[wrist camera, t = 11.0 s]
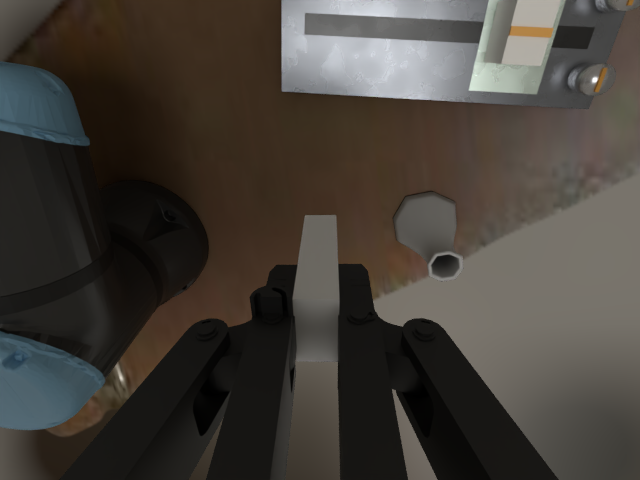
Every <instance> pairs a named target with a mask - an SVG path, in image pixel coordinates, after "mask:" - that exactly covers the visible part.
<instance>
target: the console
mask: <svg viewBox="0 0 640 480" xmlns="http://www.w3.org/2000/svg"><path fill="white" fill-rule="evenodd" d="M499 1H502V0H282V91H284V92H301V93H318V94H335V95H352V96H370V97H387V98H404V99H421V100H438V101H456V102H473V103H490V104H507V105H524V106H541V107H559V108H576V109H589V107H590V104H591V102H592V99H593V97H594V96H598V95H601V94H603V93H605V92H606V91H608V90H609V89H610V88H611V87H612V85H613V83H614V81H615V79H616V71H615V69H614V67H613V66H612V65H610V64H606V62H607V60H608V57H609V54H610V52H611V49H612V46H613V44H614V41H615V39H616V36H617V33H618V31H619V28H620V25H621V23H622V20H623V17H624V15H625V12H626V11H627V10H632V9H635V8H637V7H638V6H640V0H561V2H560V5H559V8H558V11H557V15H556V18H555V21H554V25H553V28H554V29H553V32H552V36H551V38H549V41H548V44H547V48H546V51H545V54H544V58H543V61H542V64H541V66H530V65H512V64H496V63H484V59H485V55H486V50H487V46H488V42H489V38H490V33H491V29H492V25H493V21H494V16H495V12H496V8H497V4H498V2H499Z"/></svg>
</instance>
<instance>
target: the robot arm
mask: <svg viewBox="0 0 640 480" xmlns="http://www.w3.org/2000/svg"><path fill="white" fill-rule="evenodd" d="M88 145H90V140H89V138H88V137H87V136H86V135H85V133H84V130H83V127H82V124H81V121H80V117H79V114H78V111H77V108H76V105H75V102H74V99H73V96H72V94H71V91H70V90H69V88H68V87H67V85H66V84H65V83H64V82H63V81H62V80H61V79H60V78H58V77H57V76H56V75H54V74H52V73H50V72H48V71H46V70H44V69H41V68H37V67H32V66H27V65H21V64H14V63H8V62H1V61H0V427H4V428H10V429H19V430H36V429H45V428H50V427H54V426H56V425H59V424H61V423H64V422H65V421H67V420H68V419H69V418H71V417H73V416H74V415H75V414H76V413H78V412H79V410H80V409H81V408H82V407H83V406H84V405H85V403H86V402H87V401H88V400H89V399H90V398H91V397H92V395H93V394H94V393H95V392H96V391H97V390H99V389H100V388H101V387H102V386H103V385H104V383H105V379H106V378H107V376H108V375H109V373H110V372H111V371H112V369H113V368H114V366H115V365H116V364H117V362H118V361H119V360H120V358H121V357H122V355H123V354H124V353H125V351H126V350H127V348H128V347H129V346H130V344H131V343H132V342H133V340H134V339H135V337H136V336H137V335H138V333H139V332H140V331H141V329H142V328H143V327H144V325H145V324H146V322H147V321H148V320H149V318H150V317H151V316H152V314H153V313H154V311H155V310H156V309H157V307H159V306H160V305H162V304H164V303H165V302H167V301H168V300H170V299H171V298H172V297H174V296H177V295H178V294H180V293H182V292H184V291H185V290H186V289H188V288H189V287H190V286H191V285H192V284H193V283H194V282H195V281H196V279H197V278H198V276H199V275H200V273H201V272H202V270H203V268H204V266H205V264H206V261H207V257H208V241H207V236H206V233H205V230H204V228H203V225H202V223H201V222H200V220H199V218H198V217H197V215H196V214H195V213H194V211H193V210H192V209H191V208H190V207H189V206H188V205H187V204H186V203H185V202H184V201H183V200H182V199H181V198H179V197H178V196H177V195H175V194H174V193H172V192H170V191H169V190H167V189H165V188H163V187H160V186H158V185H155V184H152V183H148V182H144V181H137V180H126V181H119V182H115V183H112V184H110V185H108V186H106V187H104V188H102V189H100V190H99V188H98V184H97V180H96V176H95V172H94V169H93V165H92V161H91V156H90V152H89V148H88ZM250 303H251V310H252V320H250V321H248V322H246V323H244V324H241V325H237V326H232V327H228V326H227V324H226V323H225V322H224V321H222V320H219V319H206V320H201V321H199V322H197V323H195V324H194V325H192V326H191V327H190V328H189V329H188V330H187V331H186V332H185V333H184V335H183V336H182V337H181V338H180V339H179V340H178V342H177V343H176V344H175V345H174V346H173V347H172V349H171V350H170V351H169V352H168V353H167V354H166V356H165V357H164V358H163V359H162V360H161V361H160V363H159V364H158V365H157V366H156V367H155V368H154V370H153V371H152V372H151V373H150V374H149V375H148V377H147V378H146V379H145V380H144V381H143V382H142V384H141V385H140V386H139V387H138V388H137V389H136V391H135V392H134V393H133V394H132V395H131V396H130V398H129V399H128V400H127V401H126V402H125V403H124V405H123V406H122V407H121V408H120V409H119V410H118V412H117V413H116V414H115V415H114V416H113V417H112V419H111V420H110V421H109V422H108V424H106V426H105V427H104V428H103V429H102V430H101V431H100V433H99V434H98V435H97V436H96V437H95V438H94V440H93V441H92V442H91V443H90V444H89V446H88V447H87V448H86V449H85V450H84V452H83V453H82V454H81V455H80V456H79V457H78V458H77V460H76V461H75V462H74V463H73V464H72V466H71V467H70V468H69V469H68V470H67V471H66V472H65V474H64V475H63V476H62V477H61V478H60V479H59V480H189V478H190V476H191V474H192V472H193V471H194V469H195V467H196V465H197V464H198V462H199V460H200V458H201V456H202V454H203V453H204V451H205V449H206V447H207V446H208V444H209V442H210V440H211V438H212V437H213V435H214V433H215V431H216V429H217V428H218V426H219V424H220V422H221V420H222V419H223V422H222V425H221V429H220V432H219V436H218V439H217V443H216V446H215V450H214V453H213V457H212V460H211V464H210V468H209V471H208V474H207V478H206V480H285V475H286V466H287V456H288V446H289V436H290V426H291V416H292V406H293V396H294V387H295V377H296V369H295V360H296V361H316V362H317V361H318V362H319V361H321V362H323V361H324V362H338V401H339V444H340V445H339V447H340V480H408V477H407V471H406V466H405V460H404V455H403V449H402V444H401V439H400V432H399V427H398V421H397V416H396V410H395V405H394V399H393V394H392V389H394V390H396V393H397V396H398V398H399V400H400V402H401V404H402V406H403V408H404V410H405V413H406V415H407V416H408V419H409V421H410V423H411V425H412V427H413V429H414V431H415V433H416V435H417V438H418V439H419V442H420V444H421V446H422V448H423V450H424V452H425V454H426V456H427V458H428V460H429V462H430V465H431V467H432V469H433V471H434V473H435V475H436V477H437V479H438V480H558V478H557V477H556V476H555V475H554V473H553V472H552V471H551V469H550V468H549V467H548V465H547V464H546V463H545V461H544V460H543V459H542V457H541V456H540V455H539V454H538V452H537V451H536V450H535V448H534V447H533V446H532V444H531V443H530V442H529V440H528V439H527V438H526V436H525V435H524V434H523V432H522V431H521V430H520V428H519V427H518V426H517V425H516V423H515V422H514V421H513V419H512V418H511V417H510V415H509V414H508V413H507V412H506V410H505V409H504V408H503V406H502V405H501V404H500V403H499V401H498V400H497V399H496V397H495V396H494V394H493V393H492V392H491V390H490V389H489V388H488V387H487V385H486V384H485V383H484V381H483V380H482V379H481V377H480V376H479V375H478V373H477V372H476V371H475V370H474V368H473V367H472V366H471V364H470V363H469V362H468V360H467V359H466V358H465V356H464V355H463V354H462V353H461V351H460V350H459V348H458V347H457V346H456V345H455V343H454V342H453V341H452V339H451V338H450V337H449V335H448V334H447V333H446V331H445V330H444V329H443V328H442V327H441V326H440V325H439V324H437V323H435V322H433V321H431V320H427V319H423V318H420V319H412V320H409V321H407V322H406V323H405V324H404V326H403V327H401V326H397V325H393V324H390V323H387V322H385V321H383V320H382V319H381V318H380V317H378V315H377V313H376V312H375V310H374V305H373V299H372V293H371V287H370V281H369V275H368V271H367V269H366V268H365V267H364V266H363V265H362V264H338V248H337V222H336V215H305V219H304V226H303V232H302V239H301V246H300V252H299V259H298V265H276V266H275V267H274V268H273V269H272V270H271V271H270V273H269V277H268V281H267V284H266V286H264V287H261V288H258V289H257V290H255V291H254V292H253V293H252V294H251V296H250ZM223 417H224V418H223Z"/></svg>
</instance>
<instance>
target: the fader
mask: <svg viewBox="0 0 640 480" xmlns="http://www.w3.org/2000/svg"><path fill="white" fill-rule="evenodd" d="M560 2H561V0H502V1H499V2H498V4H497V8H496V12H495V16H494V21H493V25H492V29H491V33H490V38H489V42H488V46H487V50H486V55H485V59H484V63H496V64H512V65H530V66H541V64H542V61H543V58H544V54H545V51H546V48H547V44H548V41H549V38H551V36H552V32H553V29H554V28H553V25H554V21H555V18H556V15H557V11H558V8H559V5H560Z"/></svg>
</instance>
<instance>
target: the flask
mask: <svg viewBox="0 0 640 480" xmlns="http://www.w3.org/2000/svg"><path fill="white" fill-rule="evenodd" d="M393 221H394V228H395V234H396V240H397V241H399V242H400V243H402V244H404V245H405V246H407V247H409V248H411V249H412V250H413V251H415V252H416V253H418V254H419V255H421V256H422V257H423V258H424V260H425V261H426V262H427V267H428V275H429V277H431V278H434V279H436V280H439V281H441V282H442V281H448V280H455V279H456V278H457V277H458V276H459V274H460V273H461V272H462V270H463V256H462V255H461V254H458V253H456V251H455V249H454V247H453V243H454V236H455V232H456V227H457V220H456V207H455V201H452V200H450V199H448V198H446V197H444V196H441V195H439V194H437V193H435V192H427V193H422V194H416V195H411V196H406V197H405V199H404V200H403V202H402V204H401V205H400V207H399V209H398V210H397V212H396V214H395V216H394V217H393Z"/></svg>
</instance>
